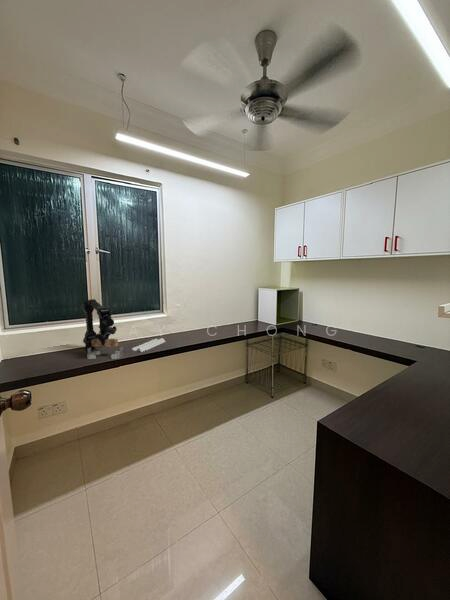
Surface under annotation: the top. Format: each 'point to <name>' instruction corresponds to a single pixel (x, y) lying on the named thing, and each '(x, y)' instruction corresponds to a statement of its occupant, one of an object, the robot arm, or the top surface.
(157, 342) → the crown molding
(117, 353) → the cup brackets
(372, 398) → the top surface
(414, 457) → the top surface
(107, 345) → the rail
